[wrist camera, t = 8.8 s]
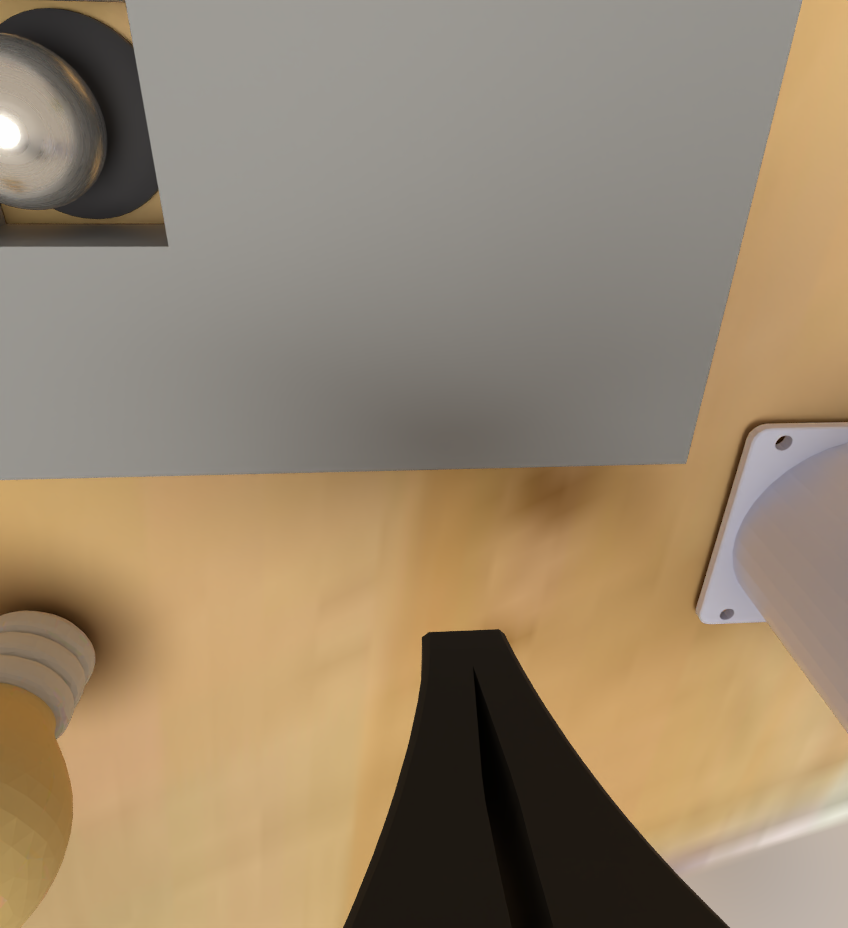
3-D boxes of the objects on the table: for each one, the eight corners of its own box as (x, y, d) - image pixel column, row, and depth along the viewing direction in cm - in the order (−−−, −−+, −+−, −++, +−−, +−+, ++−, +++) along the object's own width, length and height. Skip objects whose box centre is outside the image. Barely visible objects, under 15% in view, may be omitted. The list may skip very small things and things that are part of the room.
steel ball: (88, 32, 14) (74, 27, 12) (127, 190, 16) (122, 216, 13) (-82, 35, 13) (-137, 31, 11) (-21, 201, 15) (-57, 232, 13)
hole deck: (819, -364, 12) (917, -460, 10) (652, 422, 20) (686, 463, 18) (-367, -442, 11) (-554, -574, 8) (-33, 435, 19) (-86, 482, 17)
